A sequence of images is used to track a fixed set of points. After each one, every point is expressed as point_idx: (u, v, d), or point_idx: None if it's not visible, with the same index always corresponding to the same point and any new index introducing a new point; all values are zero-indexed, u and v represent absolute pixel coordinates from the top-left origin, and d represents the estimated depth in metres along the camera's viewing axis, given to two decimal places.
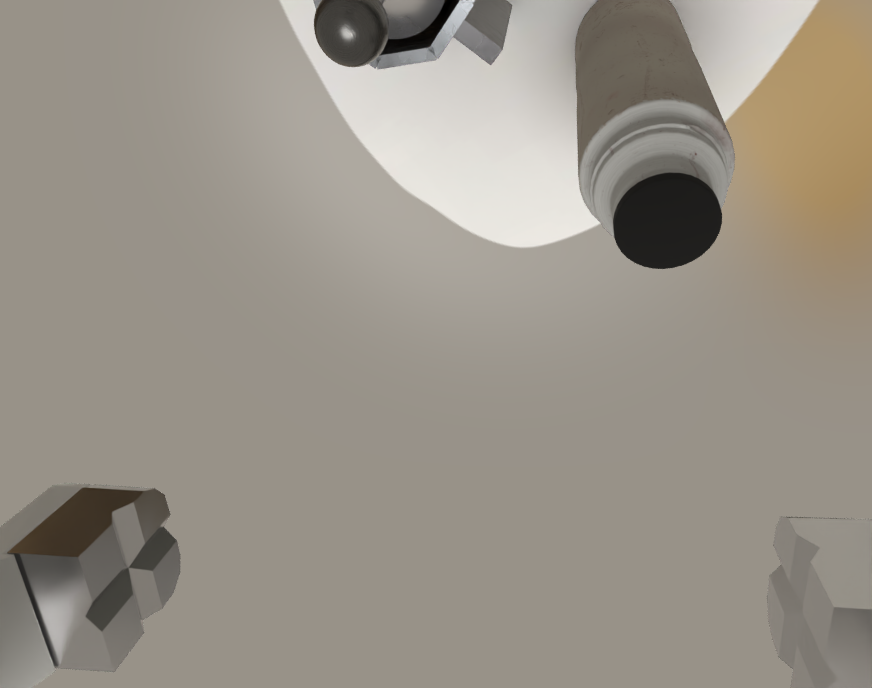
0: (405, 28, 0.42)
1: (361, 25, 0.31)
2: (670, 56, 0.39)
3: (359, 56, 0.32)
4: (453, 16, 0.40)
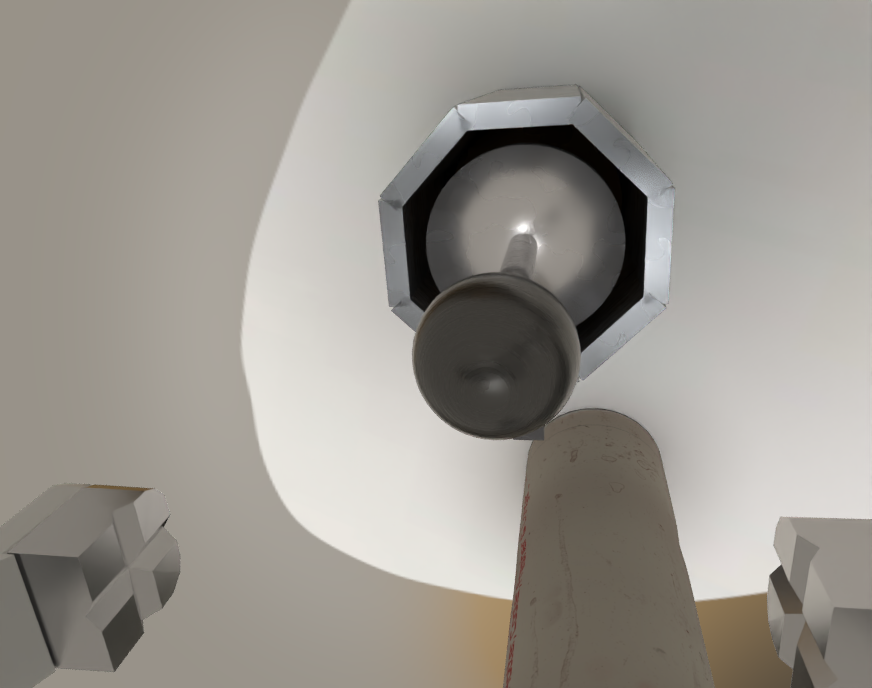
0: None
1: (535, 405, 0.13)
2: (704, 650, 0.26)
3: (471, 429, 0.14)
4: None
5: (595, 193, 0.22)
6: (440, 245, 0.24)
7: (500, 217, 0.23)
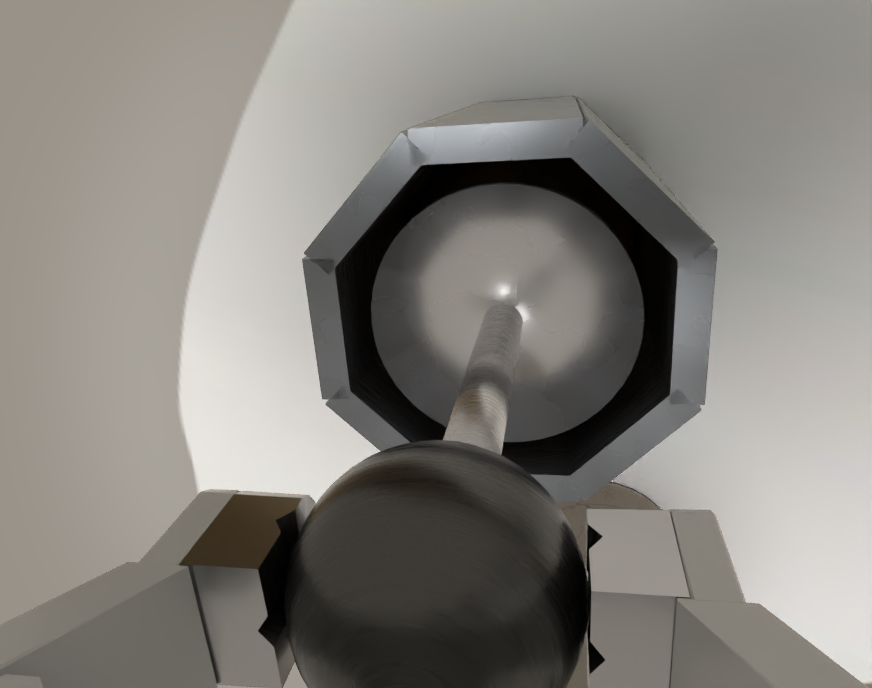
0: (437, 400, 0.18)
1: None
2: None
3: None
4: None
5: (603, 251, 0.16)
6: (390, 318, 0.18)
7: (470, 282, 0.17)
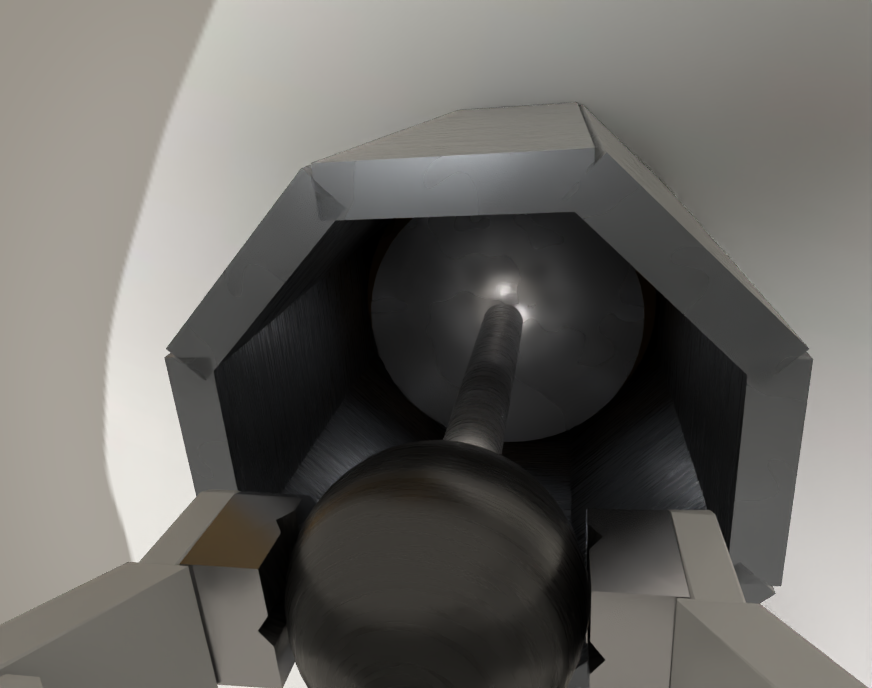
0: (437, 400, 0.18)
1: None
2: None
3: None
4: None
5: (603, 251, 0.16)
6: (390, 317, 0.17)
7: (471, 281, 0.17)
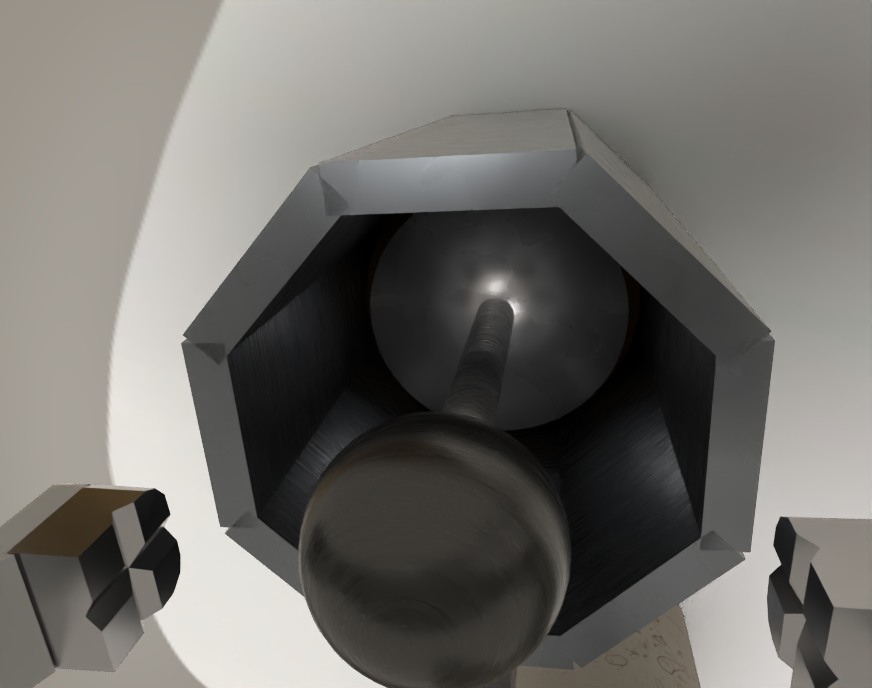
0: (433, 391, 0.19)
1: (493, 663, 0.08)
2: None
3: None
4: None
5: (589, 248, 0.17)
6: (388, 312, 0.18)
7: (465, 277, 0.18)
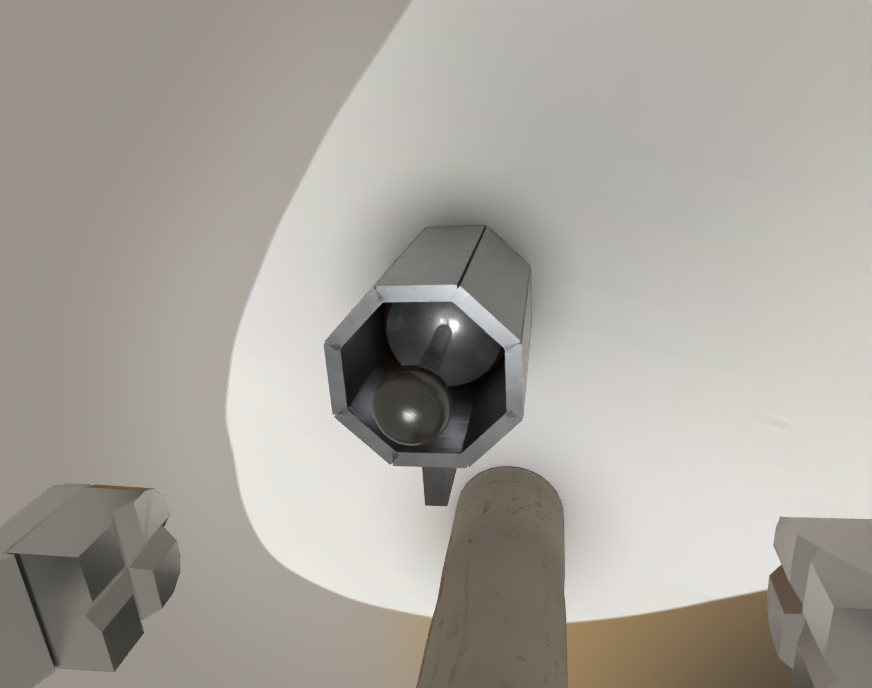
0: None
1: (427, 429, 0.29)
2: (561, 658, 0.36)
3: (399, 440, 0.30)
4: (441, 457, 0.34)
5: None
6: (395, 330, 0.40)
7: (430, 315, 0.39)
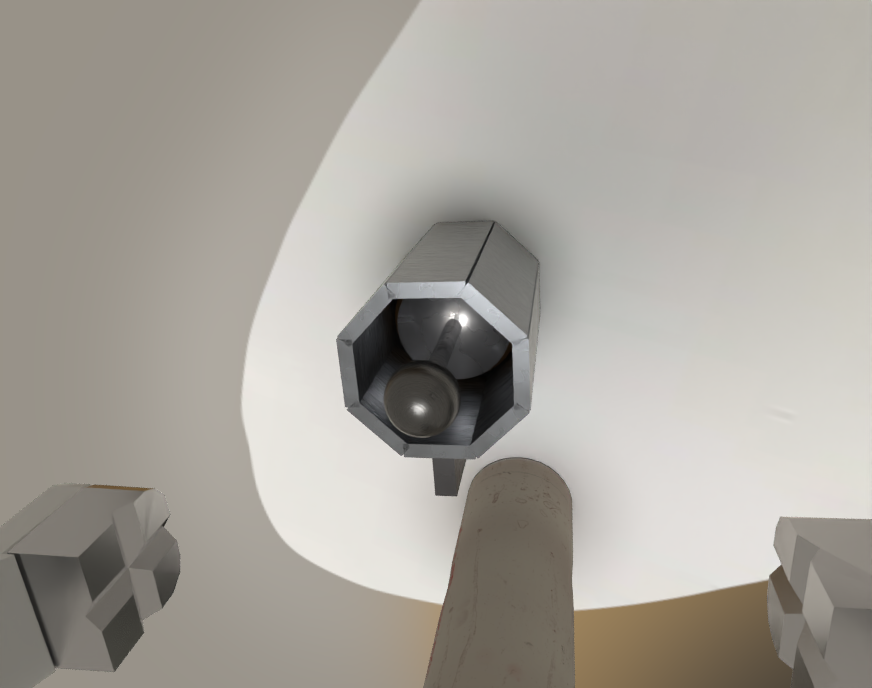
0: None
1: (436, 422, 0.30)
2: (568, 644, 0.37)
3: (409, 432, 0.31)
4: (451, 448, 0.35)
5: None
6: (405, 324, 0.41)
7: (439, 310, 0.40)
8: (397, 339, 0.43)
